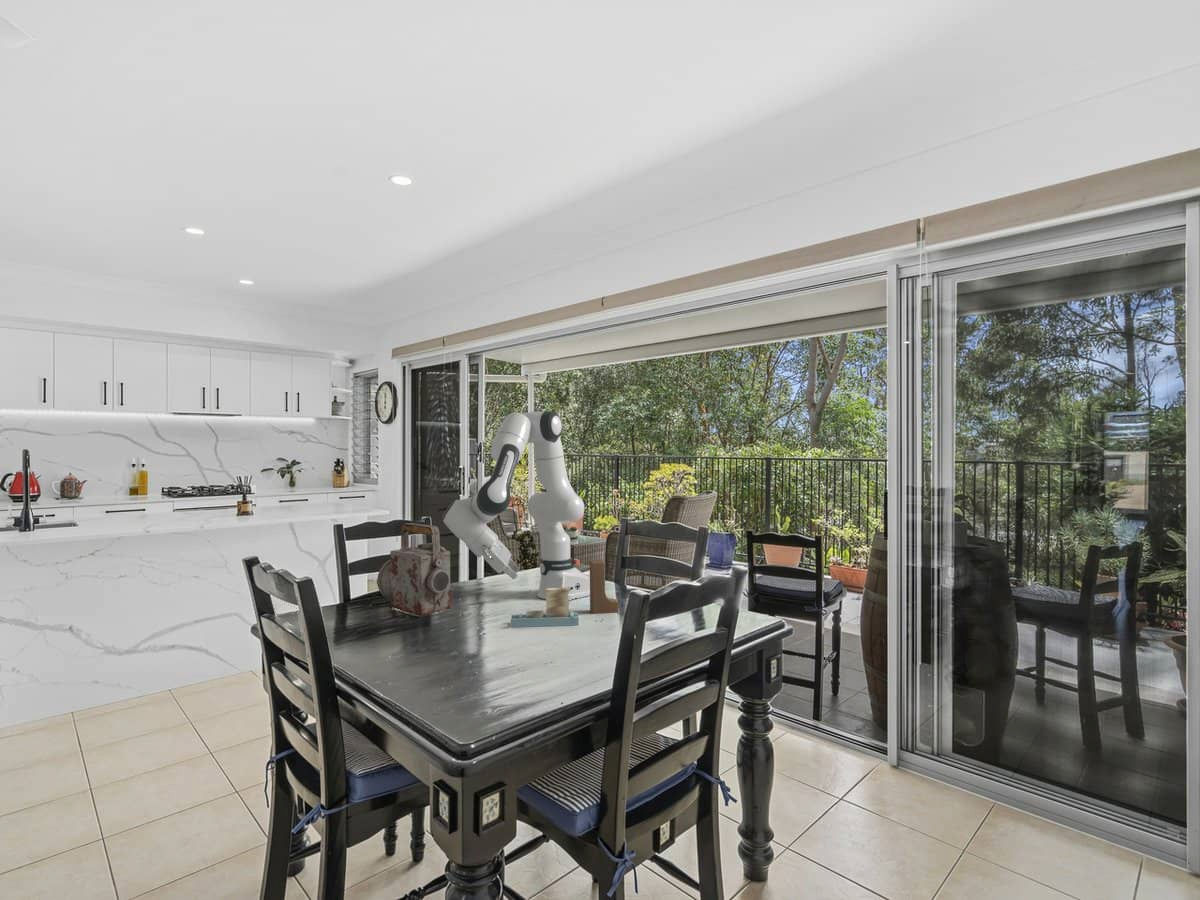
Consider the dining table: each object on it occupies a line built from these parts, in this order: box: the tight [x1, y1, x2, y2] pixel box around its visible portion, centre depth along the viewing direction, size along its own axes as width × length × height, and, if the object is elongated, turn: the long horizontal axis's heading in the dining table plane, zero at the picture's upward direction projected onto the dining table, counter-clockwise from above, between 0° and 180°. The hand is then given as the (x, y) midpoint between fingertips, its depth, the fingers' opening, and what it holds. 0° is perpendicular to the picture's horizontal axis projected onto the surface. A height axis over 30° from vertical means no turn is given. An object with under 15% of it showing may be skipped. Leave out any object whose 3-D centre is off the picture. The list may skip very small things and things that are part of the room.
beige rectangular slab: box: [545, 588, 570, 618], centre depth 200 cm, size 7×2×11 cm, turn 94°
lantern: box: [376, 522, 452, 616], centre depth 222 cm, size 16×27×30 cm, turn 51°
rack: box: [508, 611, 581, 630], centre depth 200 cm, size 22×9×4 cm, turn 94°
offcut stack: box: [524, 610, 544, 618], centre depth 200 cm, size 6×2×4 cm, turn 94°
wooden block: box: [589, 559, 619, 615], centre depth 214 cm, size 9×4×18 cm, turn 101°
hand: (516, 574), depth 199 cm, fingers open, 8 cm apart
